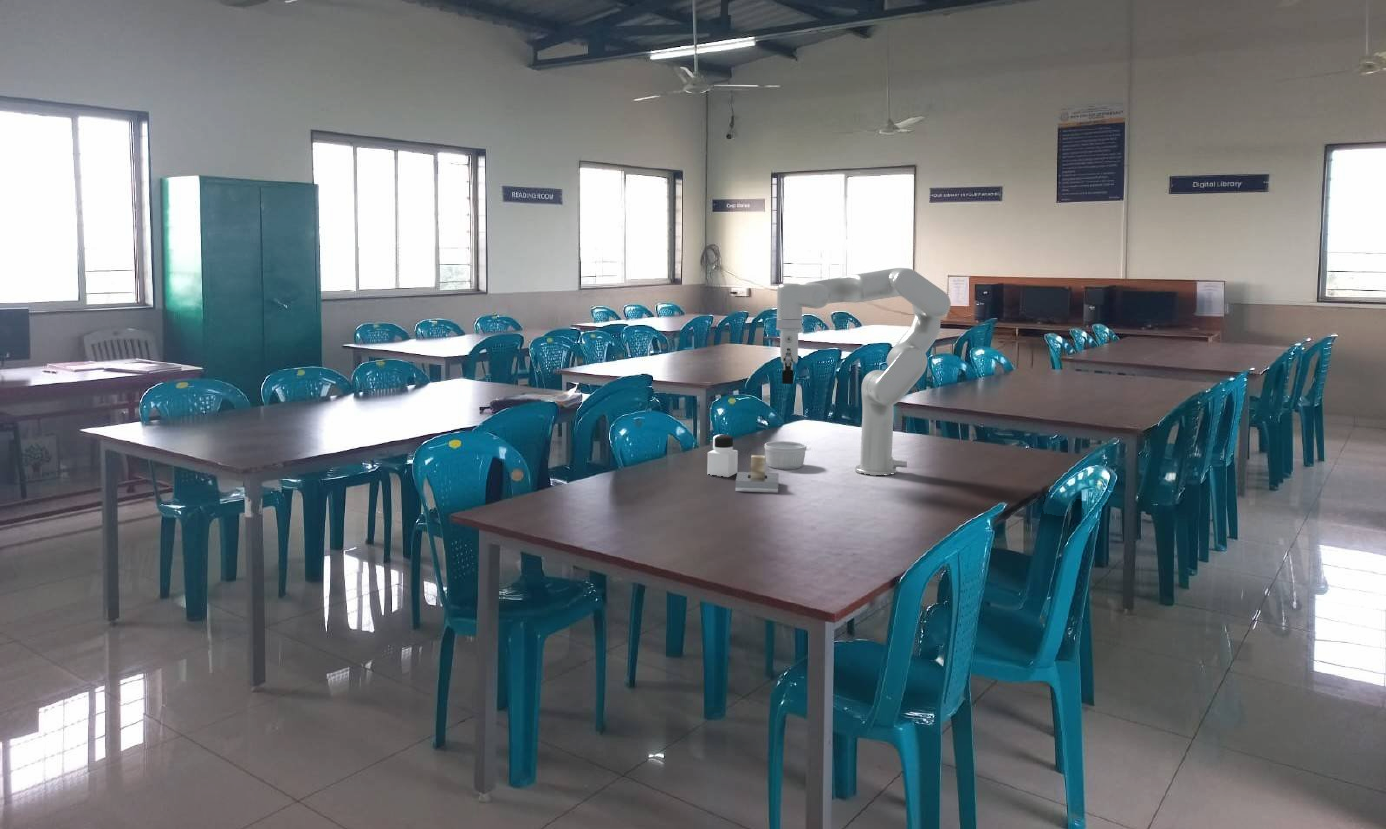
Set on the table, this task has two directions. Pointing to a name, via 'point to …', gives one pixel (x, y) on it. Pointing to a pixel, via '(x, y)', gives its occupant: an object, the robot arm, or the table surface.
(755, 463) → the beige upright block
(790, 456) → the ramekin
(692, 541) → the table surface
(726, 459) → the medicine bottle
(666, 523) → the table surface
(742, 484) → the plate
